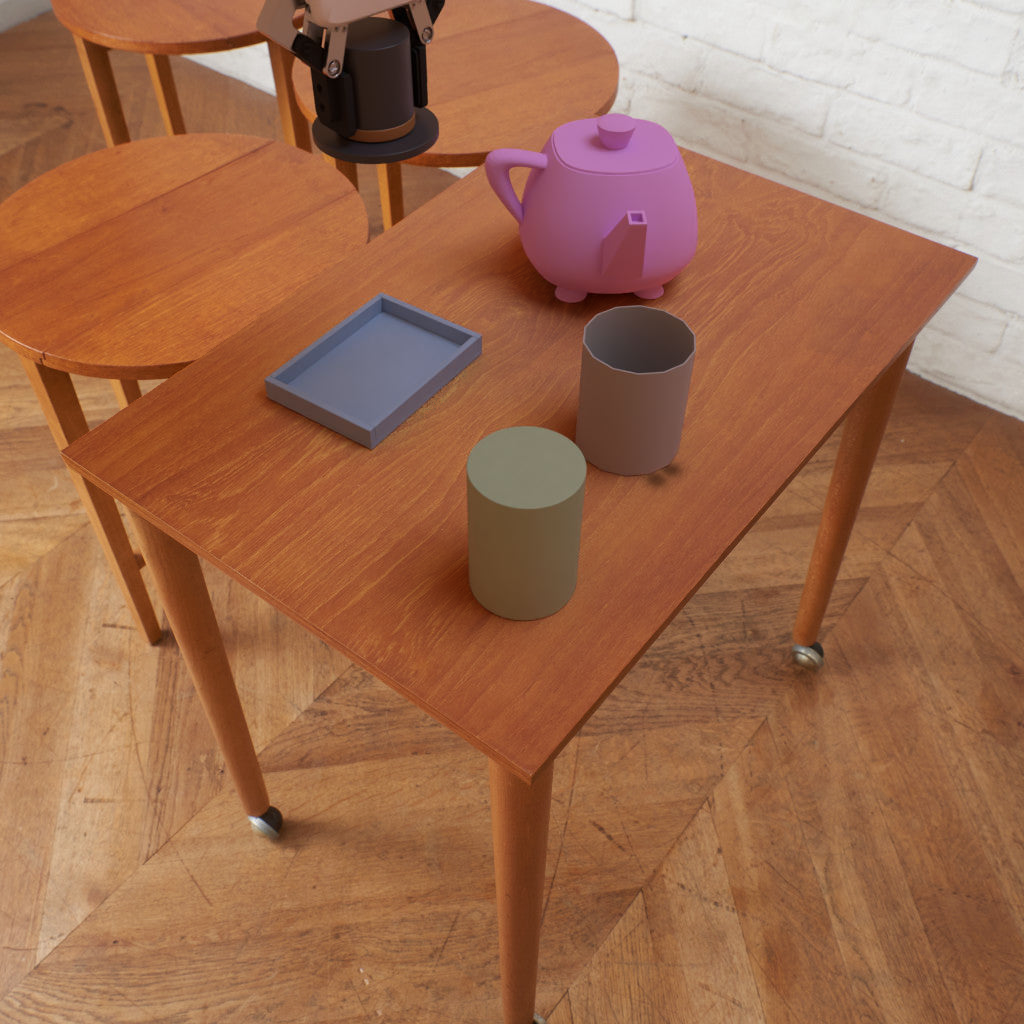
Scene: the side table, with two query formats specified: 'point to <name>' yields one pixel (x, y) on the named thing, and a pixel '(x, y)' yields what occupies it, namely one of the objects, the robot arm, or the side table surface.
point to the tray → (374, 369)
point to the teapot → (602, 207)
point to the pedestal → (524, 521)
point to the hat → (380, 98)
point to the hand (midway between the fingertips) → (374, 112)
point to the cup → (633, 389)
